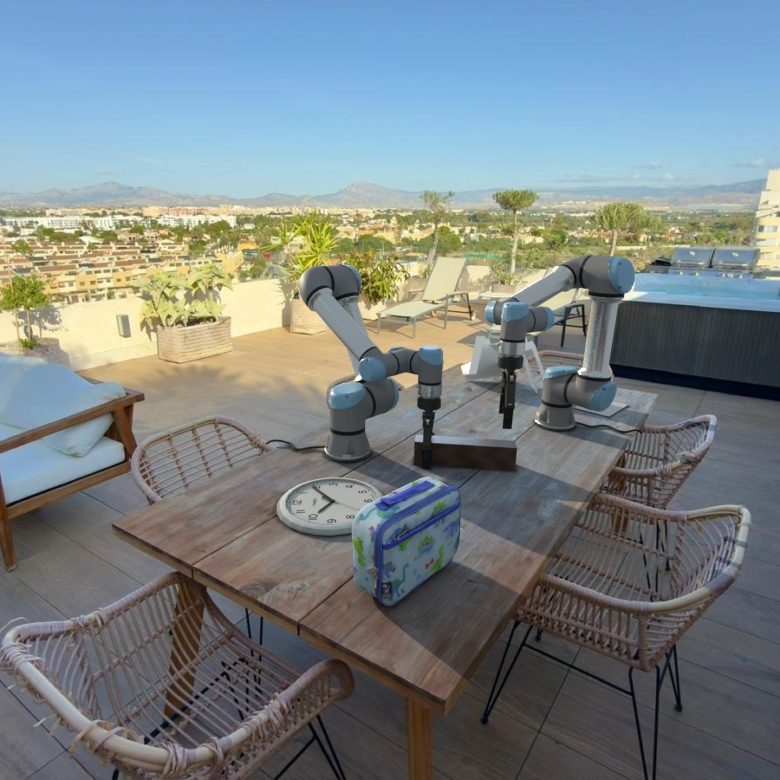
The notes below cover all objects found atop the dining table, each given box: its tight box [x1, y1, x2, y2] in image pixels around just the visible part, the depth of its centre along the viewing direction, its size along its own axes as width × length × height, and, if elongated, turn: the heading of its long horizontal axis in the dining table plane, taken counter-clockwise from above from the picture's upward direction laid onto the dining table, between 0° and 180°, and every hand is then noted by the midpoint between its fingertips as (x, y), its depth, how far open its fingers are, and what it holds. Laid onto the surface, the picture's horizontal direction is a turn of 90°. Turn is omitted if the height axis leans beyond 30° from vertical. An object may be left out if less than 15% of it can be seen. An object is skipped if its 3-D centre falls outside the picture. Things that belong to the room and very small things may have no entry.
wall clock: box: [276, 476, 385, 537], centre depth 142 cm, size 30×2×30 cm
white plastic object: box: [460, 335, 545, 394], centre depth 253 cm, size 37×45×31 cm
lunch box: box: [351, 476, 462, 607], centre depth 111 cm, size 26×11×21 cm, turn 135°
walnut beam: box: [413, 434, 518, 472], centre depth 168 cm, size 32×6×8 cm, turn 83°
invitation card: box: [573, 400, 629, 418], centre depth 226 cm, size 21×1×15 cm
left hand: (426, 460), depth 171 cm, fingers open, 9 cm apart
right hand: (504, 420), depth 163 cm, fingers open, 13 cm apart
